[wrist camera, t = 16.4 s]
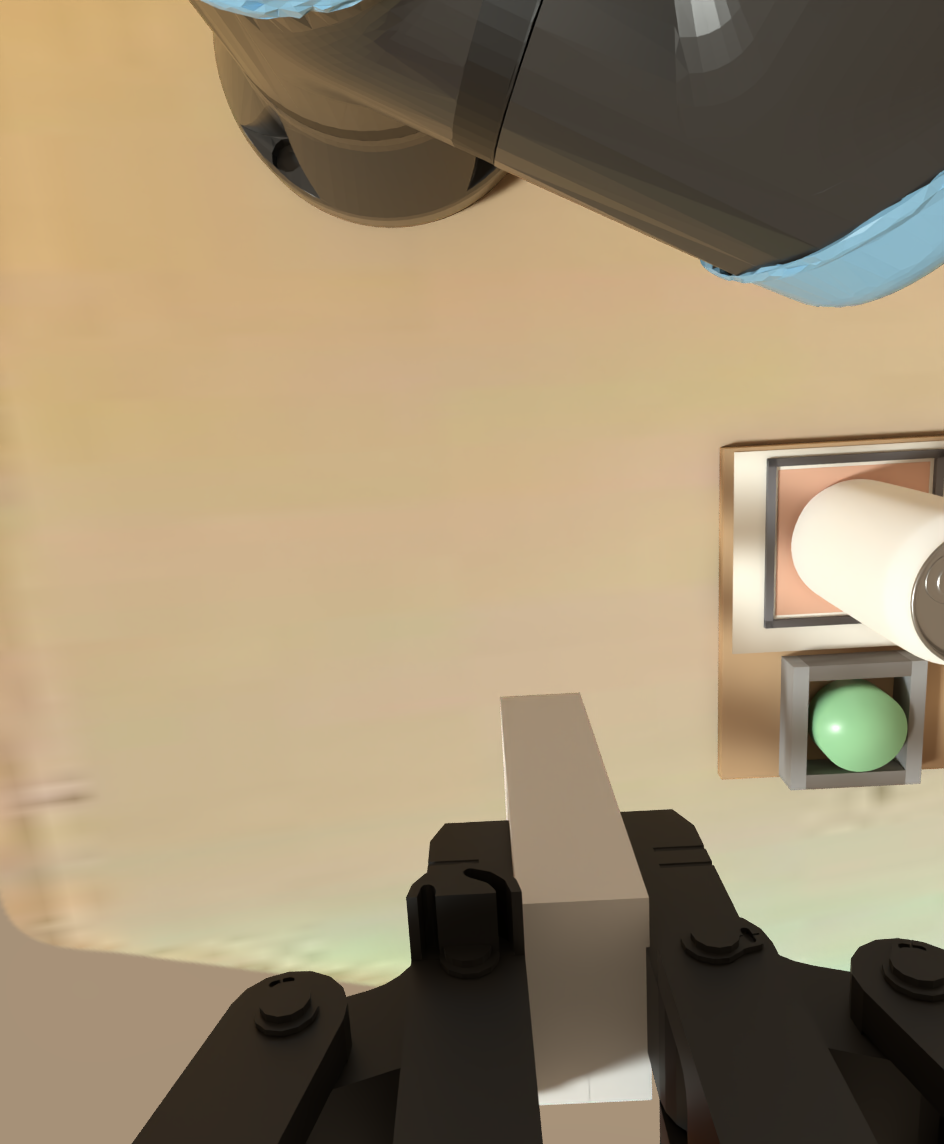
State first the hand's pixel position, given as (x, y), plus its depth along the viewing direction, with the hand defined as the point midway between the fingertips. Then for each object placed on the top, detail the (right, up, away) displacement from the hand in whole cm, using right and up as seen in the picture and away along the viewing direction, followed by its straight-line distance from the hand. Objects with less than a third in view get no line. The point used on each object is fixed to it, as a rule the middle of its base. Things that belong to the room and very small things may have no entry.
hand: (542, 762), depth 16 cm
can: (+18, +5, +28) cm, 34 cm away
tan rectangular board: (+18, +2, +30) cm, 35 cm away
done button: (+19, -4, +30) cm, 35 cm away
